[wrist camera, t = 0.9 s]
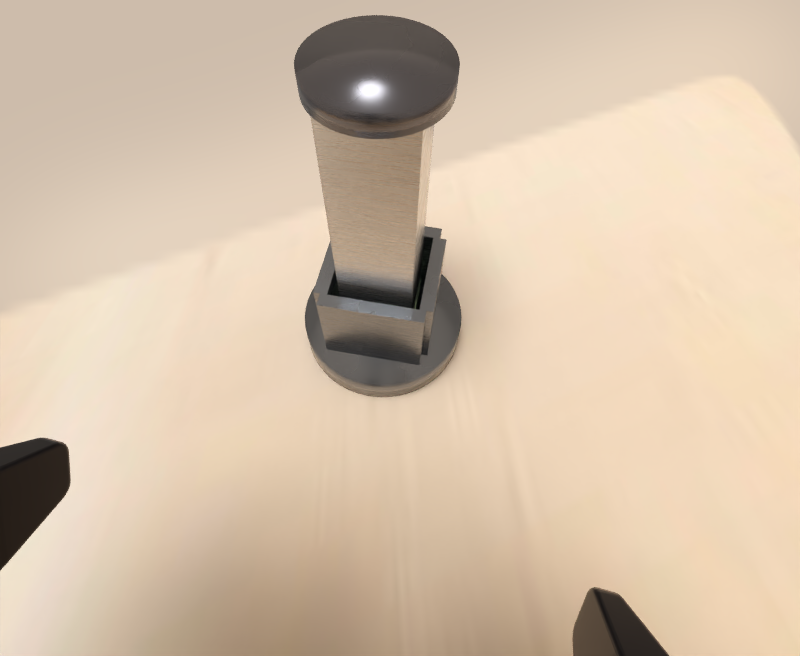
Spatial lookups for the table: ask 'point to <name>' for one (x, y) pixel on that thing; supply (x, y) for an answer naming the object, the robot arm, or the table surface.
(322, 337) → the stand
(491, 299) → the table surface
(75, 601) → the table surface
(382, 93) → the column
